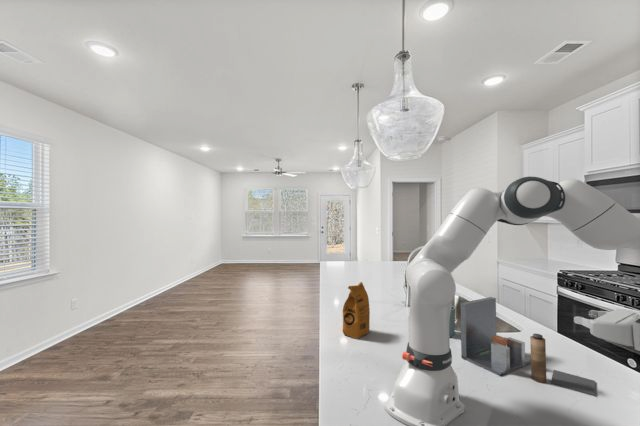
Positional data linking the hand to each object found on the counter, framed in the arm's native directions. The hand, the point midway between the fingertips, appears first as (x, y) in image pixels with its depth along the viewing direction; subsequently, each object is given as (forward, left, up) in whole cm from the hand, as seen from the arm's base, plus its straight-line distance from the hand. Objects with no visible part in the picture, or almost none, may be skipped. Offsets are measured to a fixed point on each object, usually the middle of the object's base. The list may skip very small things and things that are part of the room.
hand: (582, 316), depth 82 cm
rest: (+8, +3, -23) cm, 25 cm away
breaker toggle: (+8, +22, -22) cm, 32 cm away
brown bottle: (+3, +11, -23) cm, 26 cm away
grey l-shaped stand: (+8, +24, -23) cm, 34 cm away
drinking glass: (+21, +47, -23) cm, 56 cm away
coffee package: (-5, +76, -23) cm, 79 cm away
